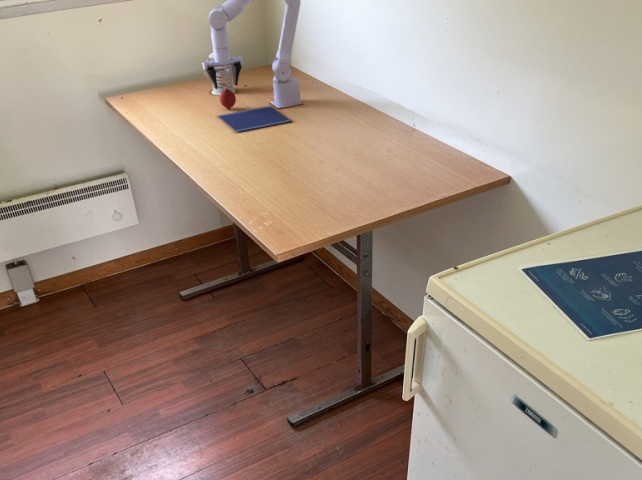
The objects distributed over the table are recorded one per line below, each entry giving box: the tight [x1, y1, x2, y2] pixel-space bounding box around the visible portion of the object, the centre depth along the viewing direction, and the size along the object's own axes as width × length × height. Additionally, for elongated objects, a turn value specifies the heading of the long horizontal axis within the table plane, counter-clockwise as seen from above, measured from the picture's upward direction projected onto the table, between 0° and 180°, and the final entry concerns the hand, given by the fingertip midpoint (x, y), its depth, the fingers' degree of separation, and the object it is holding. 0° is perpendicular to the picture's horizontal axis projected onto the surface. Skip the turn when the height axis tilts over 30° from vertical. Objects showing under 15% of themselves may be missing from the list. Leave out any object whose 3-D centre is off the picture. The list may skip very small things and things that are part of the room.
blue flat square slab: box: [218, 105, 292, 134], centre depth 236 cm, size 20×20×1 cm
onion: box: [219, 87, 237, 110], centre depth 244 cm, size 6×6×8 cm
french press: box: [202, 52, 237, 96], centre depth 257 cm, size 10×12×25 cm
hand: (225, 86), depth 241 cm, fingers open, 7 cm apart
